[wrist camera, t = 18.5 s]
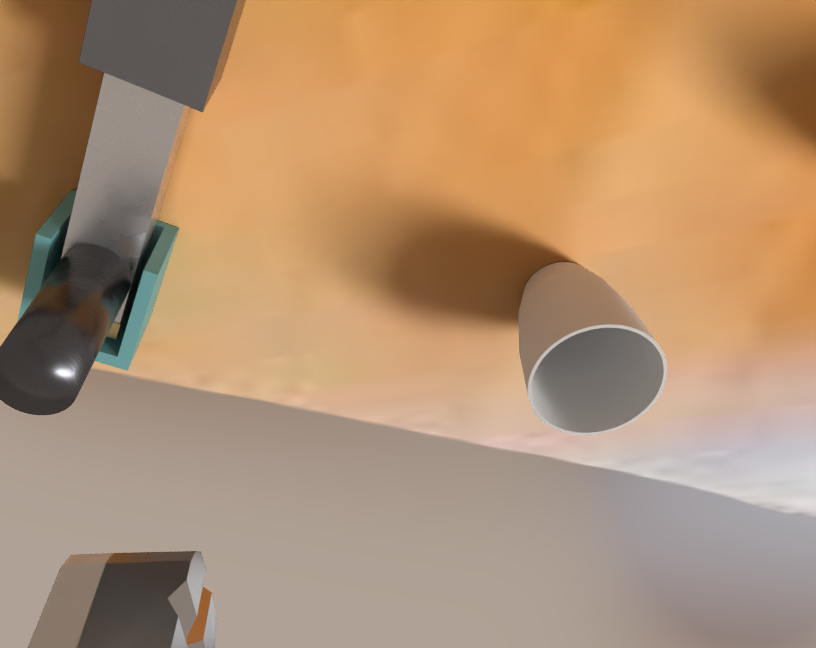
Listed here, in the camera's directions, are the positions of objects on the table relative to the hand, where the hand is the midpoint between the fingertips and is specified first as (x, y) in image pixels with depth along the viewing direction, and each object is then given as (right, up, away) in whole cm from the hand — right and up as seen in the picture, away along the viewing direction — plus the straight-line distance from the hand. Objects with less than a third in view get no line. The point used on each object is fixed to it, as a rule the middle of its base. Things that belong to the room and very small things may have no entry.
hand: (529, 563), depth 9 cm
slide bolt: (-18, +12, +35) cm, 41 cm away
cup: (+9, +5, +42) cm, 43 cm away
